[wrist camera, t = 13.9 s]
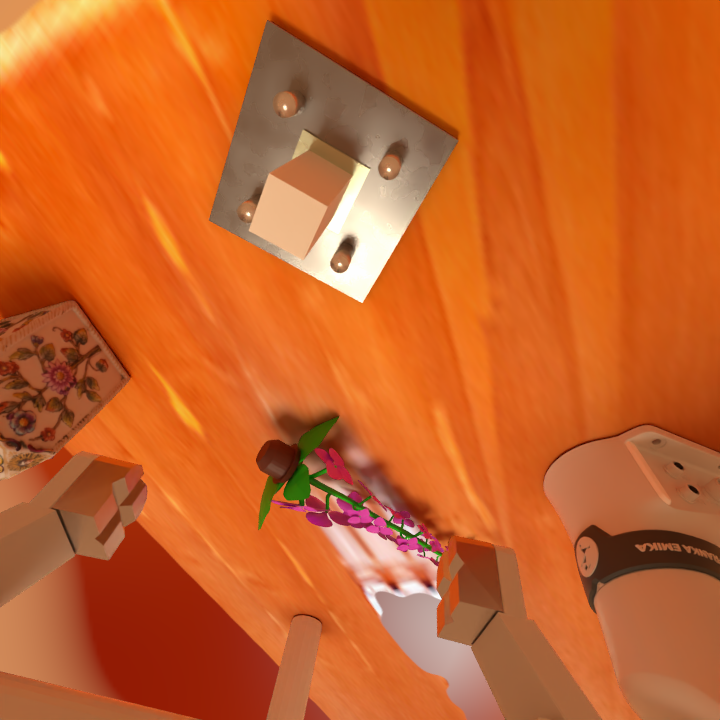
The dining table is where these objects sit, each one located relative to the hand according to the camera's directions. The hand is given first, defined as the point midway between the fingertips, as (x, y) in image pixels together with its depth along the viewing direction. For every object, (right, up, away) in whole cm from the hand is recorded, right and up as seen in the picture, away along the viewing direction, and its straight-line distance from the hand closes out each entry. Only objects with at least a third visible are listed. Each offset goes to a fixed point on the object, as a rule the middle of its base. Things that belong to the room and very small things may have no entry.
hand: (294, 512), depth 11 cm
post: (-2, +19, +24) cm, 30 cm away
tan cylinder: (-9, -48, +72) cm, 87 cm away
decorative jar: (-34, +6, +40) cm, 53 cm away
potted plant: (+5, -13, +47) cm, 49 cm away
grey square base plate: (-1, +19, +25) cm, 32 cm away
